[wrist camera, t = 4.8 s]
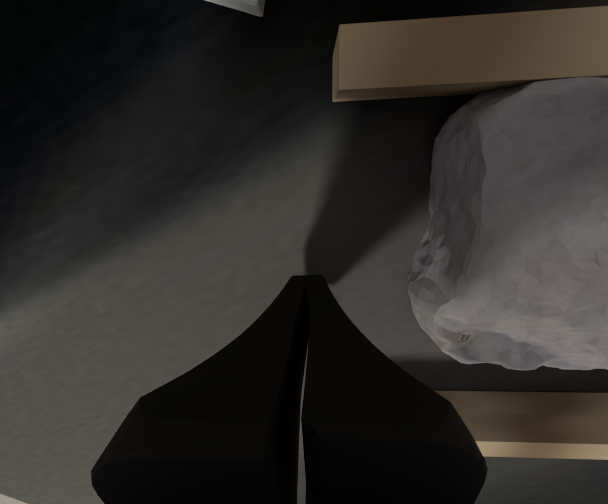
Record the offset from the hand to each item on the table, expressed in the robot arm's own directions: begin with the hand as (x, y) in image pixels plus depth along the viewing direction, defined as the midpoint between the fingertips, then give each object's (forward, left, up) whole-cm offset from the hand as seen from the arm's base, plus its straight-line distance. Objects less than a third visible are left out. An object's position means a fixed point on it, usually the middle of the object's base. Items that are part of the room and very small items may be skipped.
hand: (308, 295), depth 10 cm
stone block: (-10, -2, -1) cm, 10 cm away
